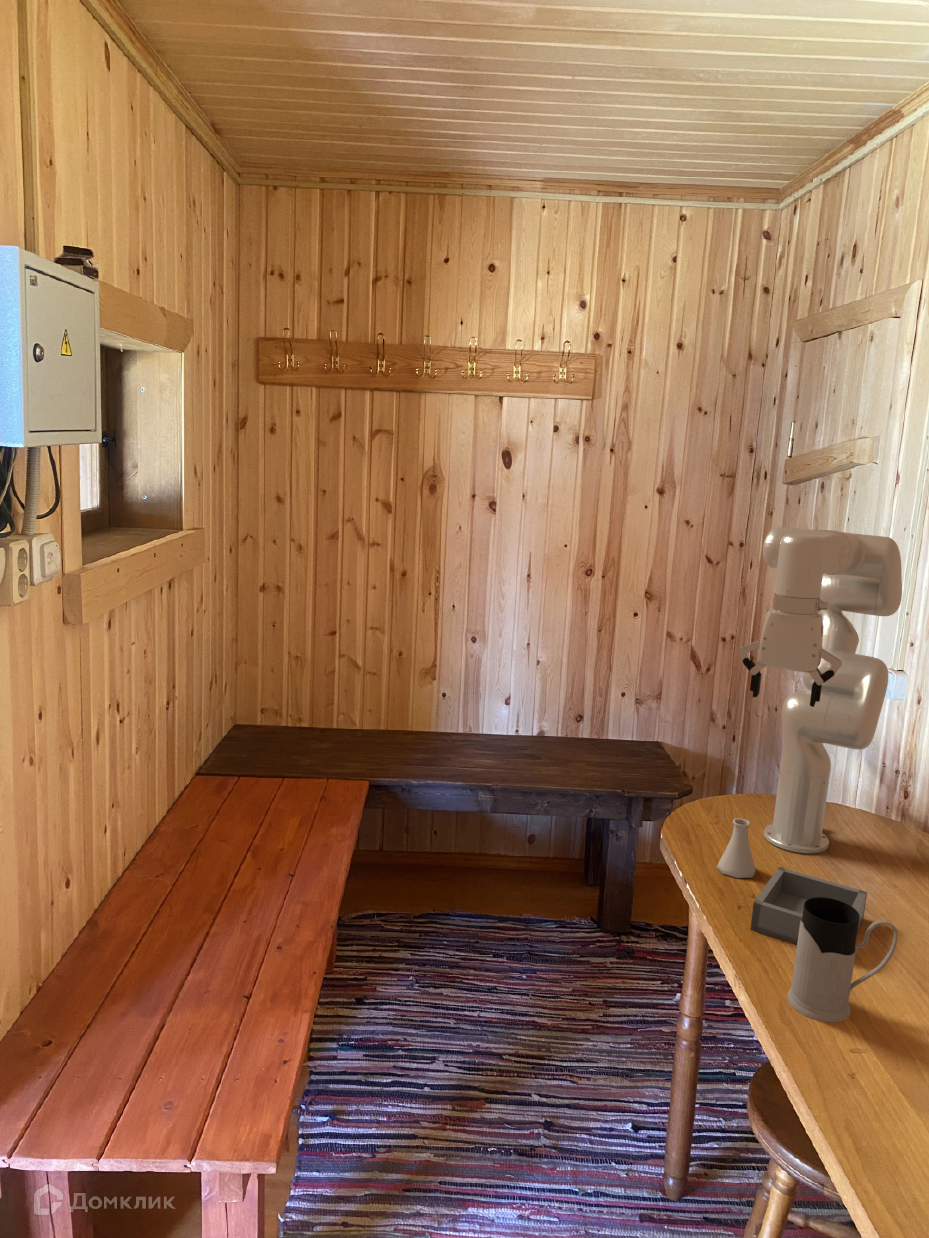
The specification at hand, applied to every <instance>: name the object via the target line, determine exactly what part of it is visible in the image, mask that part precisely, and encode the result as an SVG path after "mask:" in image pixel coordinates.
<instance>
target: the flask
mask: <svg viewBox="0 0 929 1238" xmlns="http://www.w3.org/2000/svg"><path fill="white" fill-rule="evenodd" d="M732 824H733V830H732V834H731V838H730V839H729V842H728V844H727V845H726V846H727V847H726V848H725V850H724V852H723V854H722V856H721V858H720V859H719V861H718V863H717V866H716V868H717V869H718V870H719V871H720V873H721V874H723V875H726V876H728V877H732V878H737V879H747V878H748V879H750V878H751V879H752V878H754V876H755V874H756V872H757V871H756V866H755V862H754V860H753V856H752V851H751V847H750V843H749V827H750V826H751V822H750V821H749V820H748V819H745V818H740V817H739V818H734V819H733V820H732Z"/></svg>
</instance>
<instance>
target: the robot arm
mask: <svg viewBox="0 0 929 1238" xmlns="http://www.w3.org/2000/svg"><path fill="white" fill-rule="evenodd" d="M762 555H763V560H764V561H765V564H766V565H767V566H769V568H772V569H776V575H775V583H774V593H773V600H772V608H769V609H768V610H767V612H766V617H765V620H764V623H763V626H762V630H761V631H762V633H761V636H760V639H759V640H757V641H753V642H751V643H747V644H744V645H742V646H739V648H738V653H739V656H740V658H741V660H742V664H743V665H744V667H745V668H746V669H747V670H748V671H749V673H750V674H751V678H750V687H749V692H752V698H755V699H756V698H757V697H758V696H759V694H760V691H761V683H762V682H761V681H762V673H761V671H762V670H763V669H764V668H765V667H767V668H773V669H778V670H786V671H793V672H798V673H799V672H800V673H802V681H803V682H802V683H803V685H804V687H805V688H806V689H807V690H808V691H807V690H798V691H794V692H792V693H791V694H790V693H789V695H788V696H787V697H785V699H784V702H783V704H782V710H781V722H782V723H781V724H782V747H781V748H782V749H781V757H780V765H779V772H778V773H779V775H778V781H777V782H778V783H777V788H776V799H775V805H774V806H775V807H774V814H773V815H774V816H773V820H772V821H773V822H772V823H770V824H768V825H766V826H765V827H764V831H763V836H764V837H765V839H766V841H768V842H769V843H770V844H771V845H774V846H776V847H778V848H780V849H783V850H786V851H788V852H792V853H800V854H818V853H822V852H825V851H826V850H827V849H828V848H829V846H830V845H829V844H830V839H829V838H828V836H827V835H826V834H824V833H823V828H824V827H823V826H824V820H825V811H826V807H827V806H826V805H827V797H828V791H829V784H830V775H831V769H832V768H831V767H832V766H831V765H832V764H831V757H830V755H829V753H828V751H827V749H826V748H825V746H824V744H828V745H832V746H837V747H841V748H845V749H851V750H857V751H859V750H865V749H867V748H869V746H870V745H871V744H872V742H873V740H874V737H875V735H876V730H877V728H878V723H879V719H880V716H881V712H882V709H883V705H884V702H885V697H886V694H887V689H888V685H889V669H888V666H887V665H886V663H885V662H884V661H883V660H881V659H880V658H877V657H874V656H870V655H864V654H858V653H857V650H858V646H859V641H860V638H859V633H858V632H857V630H856V628H855V627H854V625H853V624H852V622H851V621H850V620H849V619H848V618H847V617H846V615H845V614H844V613H843V612H850V613H855V614H862V615H869V616H876V617H890V616H893V615H895V613H897V611H898V610H899V608H900V605H901V602H902V598H903V579H902V578H903V577H902V573H903V572H902V558H901V552H900V549H899V546H898V544H897V542H896V541H895V540H894V539H893V538H892V537H888V536H882V535H881V536H880V535H873V534H871V535H870V534H862V533H860V534H859V533H854V532H853V533H852V532H845V531H844V532H843V531H838V530H834V529H833V530H832V529H831V530H828V529H806V528H796V527H795V528H794V527H784V526H783V527H782V526H776V527H774V528H772V529H771V530H770V531H769V532H768V533H767V534H766V536H765V539H764V541H763V544H762ZM757 650H758V655H757V657H758V659H757V662H756V663H755V662H754V661H753V660H752V659H751V657H750V655H749V653H750V652H752V651H757Z"/></svg>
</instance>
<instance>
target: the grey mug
mask: <svg viewBox="0 0 929 1238" xmlns="http://www.w3.org/2000/svg"><path fill="white" fill-rule="evenodd" d="M859 917H860V916H859V913H858V912H857V911H856V909H854V908H853V907H852V906H850V905H848V904H846V903H844V902H842V901H839V900H835V899H831V898H824V897H815V898H810V899H808V900H806V901H805V902H804V908H803V915H802V920H801V921H800V928H799V935H798V943H797V945H796V952H795V958H794V959H795V960H794V966H793V973H792V981H791V986H790V989H789V990H788V992H787V993H786V994H787V995H786V996H787V997H786V998H787V1002H788V1003H789V1004H790V1005H789V1006H791V1007H792V1008H793V1009H794V1010H796V1011H797V1012H798V1013H800V1014H801V1015H803V1016H805V1017H807V1018H809V1019H811V1020H815V1021H819V1022H824V1023H839V1022H843V1021H845V1020H848V1018H849V1017H850V1015H851V1011H852V1010H851V1006H850V1003H849V1002H850V1001H849V1000H850V995H851V991H852V990H853V989H854V988H855V987H857V986H858V985H860V984H862V983H863V982H865V981H866V980H868V979H870V978H871V977H873V976H874V975H875V974H878V973H879V972H880V971H882V970H883V969H884V967H885V966H886V965H887V964H888V963H889V961H890V960H891V958H892V957H893V955H894V952H895V951H896V950H895V949H896V948H897V944H898V939H899V937H898V930H897V929H896V926H895V925H894V924H893V923H892V922H890V921H887V920H882V919H881V920H876V921H874V922H872V923H871V924H869V926H868V927H867V929H866V931H865V933H864V939H863V941H862V942H861V943H858V944H857V936H858V932H859V929H858V924H859ZM880 925H887V926H890V927H891V928H892V930H893V939H892V943H891V946H890V948H889V951H888V953H887V954H886V956H885V957H884V958H883V960H882V961H881V962H880V963H879V964H878V965H877V966H875V967H874V968H873V969H871V970H870V971H868V972H867V973H865V974H864V975H862V976H861V977H859V978H857V979H856V980H854V981H852V980H853V973H854V967H855V960H856V954H857V953H856V952H857V949H863V948H865V947H866V946H867V945H868V943H869V939H870V938H869V937H870V935H871V932H872V931H873V930H874V929H875V928H876V927H878V926H880ZM857 931H858V932H857Z"/></svg>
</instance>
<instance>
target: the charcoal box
mask: <svg viewBox="0 0 929 1238" xmlns="http://www.w3.org/2000/svg"><path fill="white" fill-rule="evenodd" d="M867 896H868V891H864V890H861V889H857V888H854V887H851V886H848V885H844V884H839V883H837V882H834V881H830V880H826V879H824V878H819V877H815V876H813V875H809V874H805V873H802V872H798V871H795V870H791V869H788V868H784V867H780V866H778V867H777V869H776V870H775V872H774V873H773V874H772V876H771V877H770V878H769V880H768V882H767V883H766V884H765V886H764V887H763V889H761V891H760V893H759V895H757V897H756V898H755V900H754V901H753V905H752V913H751V923H750V928H749V929H750V930H751V931H754V932H757V933H760V934H763V935H765V936H769V937H772V938H775V939H778V940H781V941H784V942H787V943H790V944H794V945H796V946H797V943H798V935H799V928H800V921H801V920H802V915H803V908H804V902H805V901H806V900H808V899H810V898H815V897H824V898H831V899H835V900H839V901H842V902H844V903H846V904H848V905H850V906H852V907H853V908H854V909H856V911H857V912H858V913H859V916H860V917H859V924H858V931H857V933H858V932H859V929H860V927H861V926H862V923H863V920H864V916H865V909H866V903H867Z"/></svg>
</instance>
